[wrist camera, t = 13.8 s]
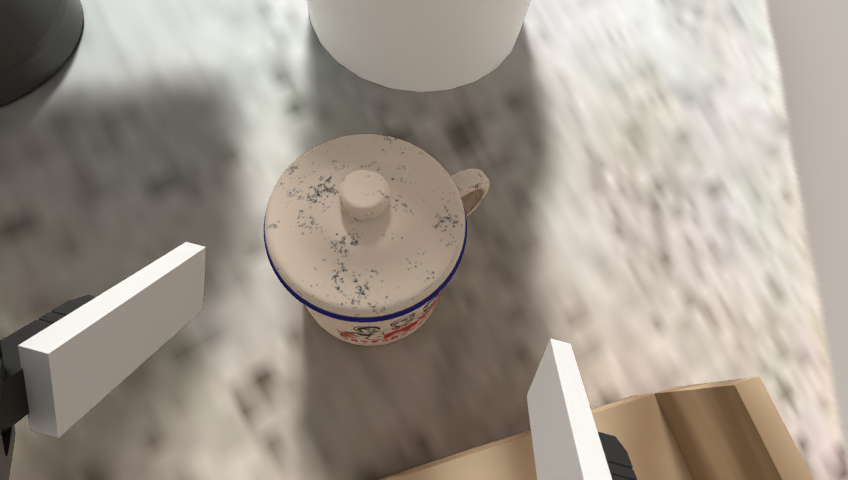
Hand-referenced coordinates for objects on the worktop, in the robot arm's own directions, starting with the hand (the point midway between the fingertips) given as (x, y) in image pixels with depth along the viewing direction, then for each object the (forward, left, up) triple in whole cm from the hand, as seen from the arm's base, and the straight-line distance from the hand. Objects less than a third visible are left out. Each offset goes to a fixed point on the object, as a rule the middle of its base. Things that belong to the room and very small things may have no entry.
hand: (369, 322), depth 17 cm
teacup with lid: (-1, +6, -11) cm, 12 cm away
